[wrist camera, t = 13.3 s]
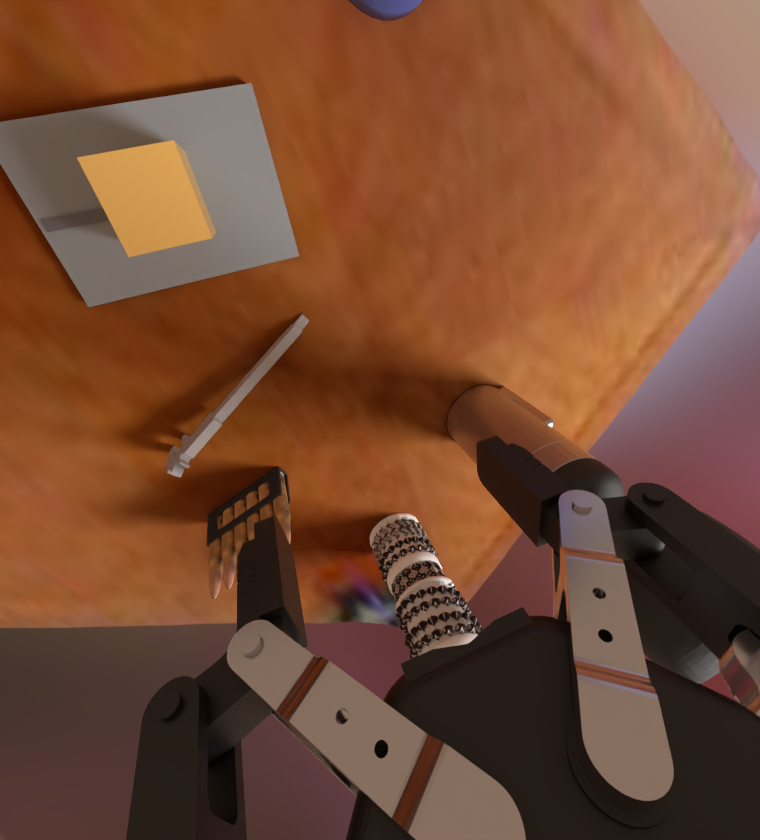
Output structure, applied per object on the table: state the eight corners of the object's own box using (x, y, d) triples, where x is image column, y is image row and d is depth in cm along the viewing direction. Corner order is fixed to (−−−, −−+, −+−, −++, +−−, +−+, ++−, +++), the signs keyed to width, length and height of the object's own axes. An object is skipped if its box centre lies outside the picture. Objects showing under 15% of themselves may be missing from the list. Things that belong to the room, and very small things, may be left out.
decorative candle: (431, 527, 60) (530, 693, 40) (388, 561, 61) (463, 742, 41) (402, 501, 55) (498, 677, 35) (355, 538, 56) (422, 732, 35)
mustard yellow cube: (185, 151, 28) (173, 140, 23) (216, 232, 31) (212, 238, 26) (106, 165, 27) (76, 157, 22) (146, 248, 30) (128, 257, 25)
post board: (250, 86, 28) (253, 63, 23) (297, 254, 34) (307, 262, 30) (-15, 128, 25) (-73, 111, 20) (92, 304, 31) (67, 322, 27)
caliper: (179, 451, 41) (171, 488, 35) (170, 446, 40) (160, 483, 35) (308, 319, 38) (320, 337, 33) (301, 312, 37) (311, 329, 32)
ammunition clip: (218, 522, 46) (213, 608, 37) (207, 515, 45) (199, 600, 36) (287, 474, 46) (300, 547, 36) (278, 465, 45) (289, 538, 35)
